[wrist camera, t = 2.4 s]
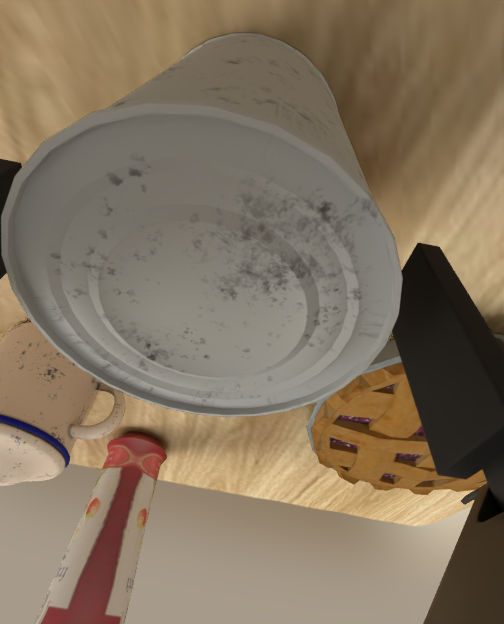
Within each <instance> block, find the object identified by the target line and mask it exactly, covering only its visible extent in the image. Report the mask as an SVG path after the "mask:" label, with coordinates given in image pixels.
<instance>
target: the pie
mask: <svg viewBox="0 0 504 624" xmlns="http://www.w3.org/2000/svg"><path fill="white" fill-rule="evenodd" d="M493 335H494V337H496V338H500V339H502V340H503V341H504V335H502V334H495V333H493ZM306 427H307V430H308V434H309V438H310V442H311V446H312V450H313V451H314V453H315V454H317V456H318V459H319V462H320V463H321V464H323V465H324V466H326V467H327V468H333V469H334V470H336V471H337V473H338V475H339V477H341V478H343V479H344V480H346V481H348V482H350V483H352V484H355V483H356V482H358V481H359V480H361V481H365V482H369V483H371V485H372V486H373V487H374V488H375V489H378V490H390V489H393V488H403V489H409V490H411V491H412V492H413V493H414V494H421V495H428V494H429V493H430V492H431V491H433V490H439V489H451V490H454V491H457V492H460V491H468V490H475V489H477V488H479V487H480V486H482V485H484V484H486V483H488V482H487V480H486V477H485V475H484V472H483V470H480V471H479V472H477V473H476V474H474V475H473V476H471V477H470V478H468V479H467V480H465V479H459V478H452V477H446V476H439V475H437V471H436V468H435V465H434V462H433V459H432V456H431V453H430V449H429V446H428V443H427V440H426V437H425V434H424V430H423V427H422V424H421V421H420V418H419V415H418V411H417V408H416V405H415V402H414V399H413V396H412V392H411V389H410V386H409V383H408V380H407V377H406V373H405V370H404V367H403V364H402V361H401V358H400V354H399V351H398V348H397V345H396V342H395V339H393V340H390V341H387V343H386V345H385V347H384V348H383V349H382V350H381V352H380V353H379V354H378V355H377V357H376V358H375V359H374V360H373V362H372V363H371V364H370V365H369V367H368V368H367V369H366V370H365V371H364V372H362V373H361V374H360V375H359V376H357V377H356V378H355V379H354V380H352V381H351V382H350V383H349V384H347V385H346V386H345V387H343V388H342V389H340V390H338V391H336V392H334V393H332V394H330V395H328V396H326V397H324V398H323V399H321V400H319V401H317V404H316V406H315V408H314V410H313V413H312V415H311V417H310V420H309V422H308V424H307V426H306Z"/></svg>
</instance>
